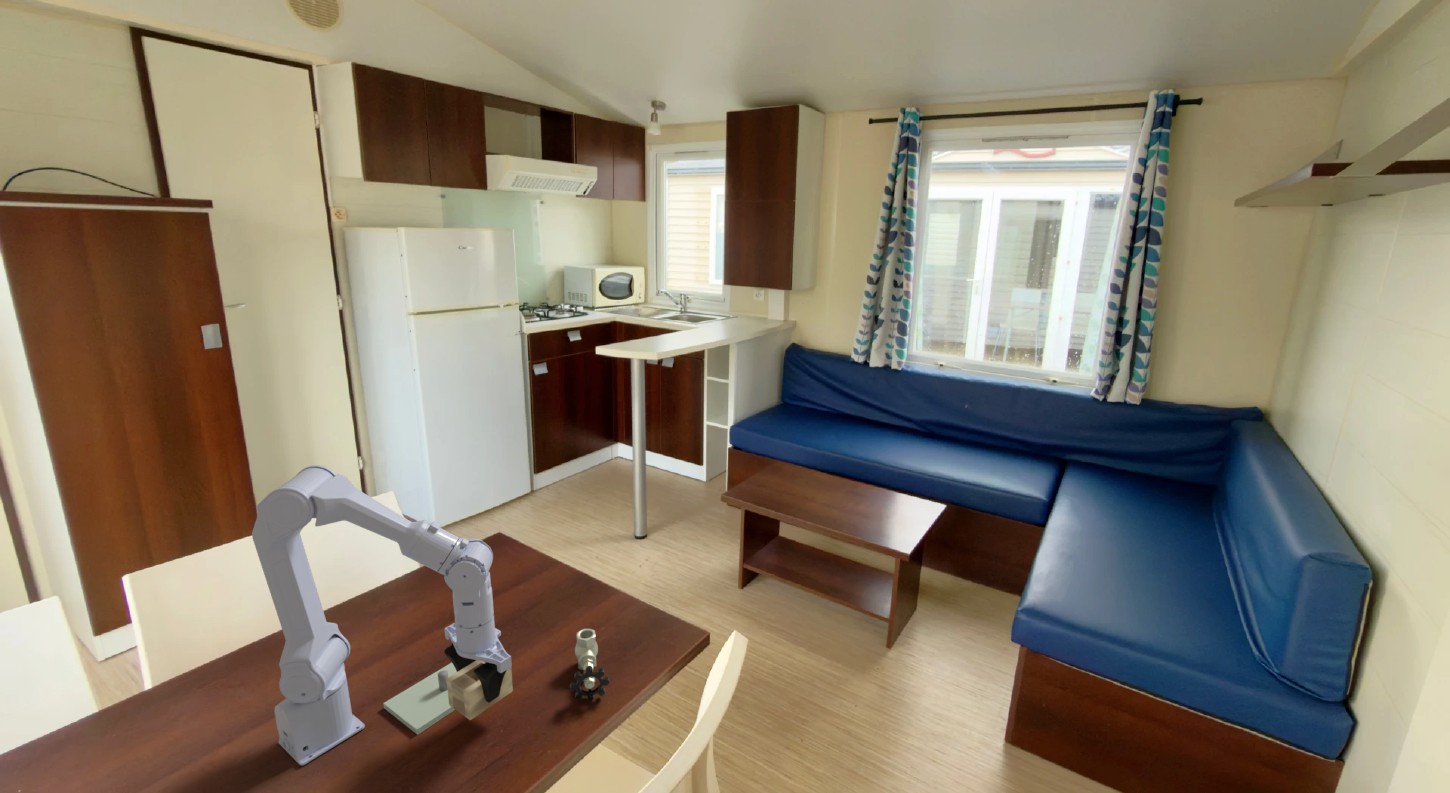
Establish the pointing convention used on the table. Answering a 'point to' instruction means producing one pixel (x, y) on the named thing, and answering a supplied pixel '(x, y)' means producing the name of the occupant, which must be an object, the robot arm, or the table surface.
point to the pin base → (423, 701)
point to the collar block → (473, 691)
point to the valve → (588, 666)
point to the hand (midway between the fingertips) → (480, 690)
